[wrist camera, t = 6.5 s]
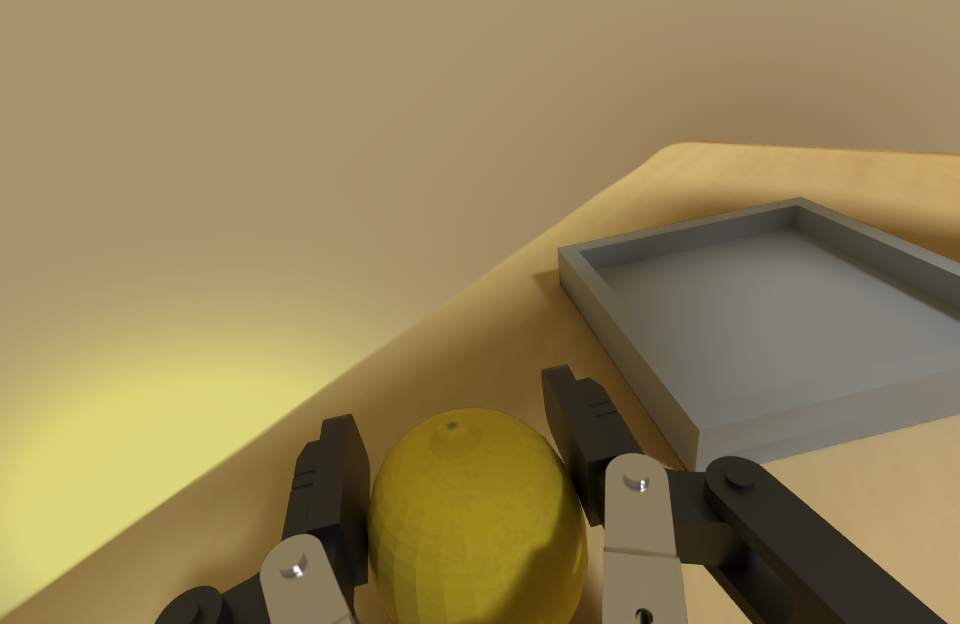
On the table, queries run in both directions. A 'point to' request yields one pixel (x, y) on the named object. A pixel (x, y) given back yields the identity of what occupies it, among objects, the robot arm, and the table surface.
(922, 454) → the table surface
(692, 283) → the tray
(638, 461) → the robot arm
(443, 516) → the lemon
